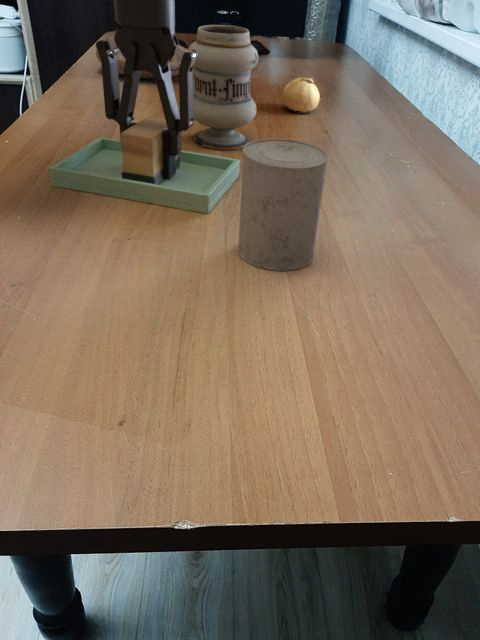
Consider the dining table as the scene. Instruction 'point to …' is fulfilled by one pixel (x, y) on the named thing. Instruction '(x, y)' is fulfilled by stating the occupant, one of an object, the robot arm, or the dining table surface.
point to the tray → (178, 192)
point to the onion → (301, 95)
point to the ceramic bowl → (121, 64)
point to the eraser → (145, 151)
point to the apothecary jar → (223, 85)
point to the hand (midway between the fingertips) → (152, 172)
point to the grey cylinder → (280, 203)
